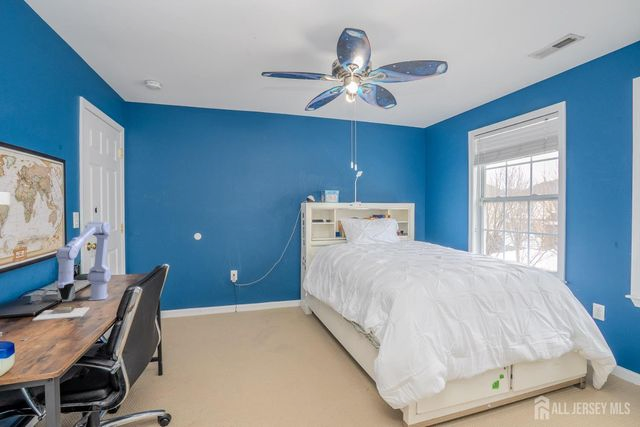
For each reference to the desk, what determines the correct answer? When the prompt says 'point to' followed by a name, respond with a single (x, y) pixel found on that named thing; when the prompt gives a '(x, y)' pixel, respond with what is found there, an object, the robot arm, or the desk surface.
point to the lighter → (39, 297)
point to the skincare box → (71, 296)
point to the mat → (61, 314)
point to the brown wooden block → (65, 308)
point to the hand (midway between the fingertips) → (65, 299)
